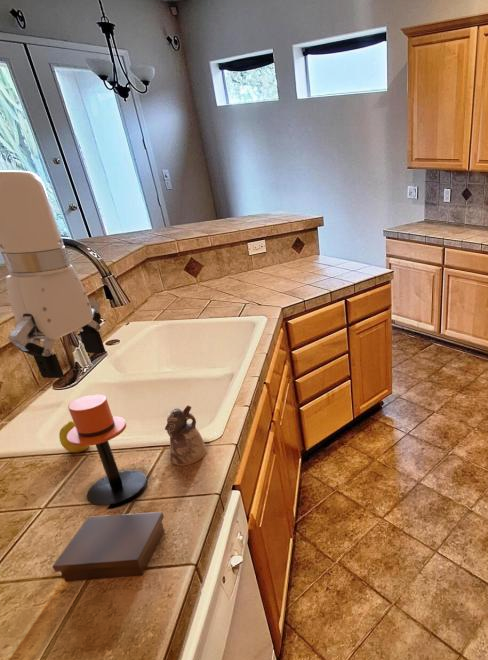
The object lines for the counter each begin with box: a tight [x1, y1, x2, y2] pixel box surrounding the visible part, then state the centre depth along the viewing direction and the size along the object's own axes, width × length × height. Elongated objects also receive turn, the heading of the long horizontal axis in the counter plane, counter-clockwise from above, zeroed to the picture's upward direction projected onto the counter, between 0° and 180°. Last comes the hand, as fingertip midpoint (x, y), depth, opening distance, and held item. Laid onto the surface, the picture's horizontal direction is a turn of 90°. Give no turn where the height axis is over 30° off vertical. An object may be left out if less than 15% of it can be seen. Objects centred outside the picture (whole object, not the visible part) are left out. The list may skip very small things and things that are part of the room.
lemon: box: [58, 420, 90, 453], centre depth 93 cm, size 6×6×8 cm
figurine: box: [164, 405, 206, 467], centre depth 92 cm, size 7×7×12 cm
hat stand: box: [86, 440, 149, 510], centre depth 81 cm, size 10×10×14 cm
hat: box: [67, 394, 127, 447], centre depth 77 cm, size 9×9×6 cm
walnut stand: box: [52, 511, 165, 583], centre depth 70 cm, size 12×10×4 cm
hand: (76, 364), depth 72 cm, fingers open, 9 cm apart
